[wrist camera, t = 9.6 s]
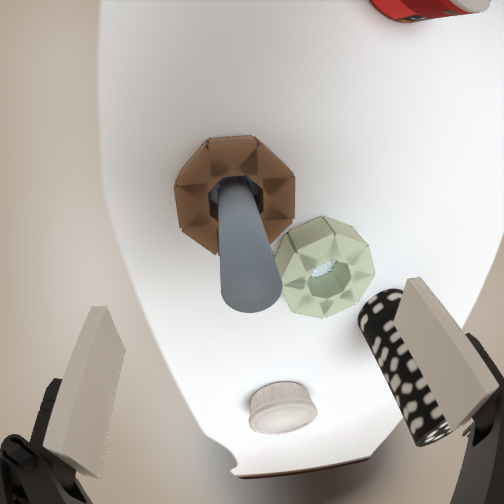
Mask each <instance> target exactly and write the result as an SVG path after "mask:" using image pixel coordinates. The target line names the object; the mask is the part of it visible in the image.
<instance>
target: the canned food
mask: <svg viewBox="0 0 504 504" xmlns="http://www.w3.org/2000/svg"><path fill="white" fill-rule="evenodd" d="M370 1H371V2H372V4H373V5H374V6H375V7H376V8H377V9H378V10H379V11H380V12H382V13H383V14H384V15H386V16H388V17H389V18H391V19H394V20H397V21H401V22H406V23H412V22H417V21H423V20H428V19H434V18H441V17H448V16H456V15H465V14H472V13H479V12H483V11H485V10H487V8H488V7H489V5H490V1H491V0H370Z"/></svg>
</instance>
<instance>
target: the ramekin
mask: <svg viewBox="0 0 504 504" xmlns="http://www.w3.org/2000/svg"><path fill="white" fill-rule="evenodd" d="M316 415H317V409H316V406H315V405H314V404H313V402H312V400H311V398H310V396H309V394H308V392H307V391H306V389H305V388H304V387H303V386H301V385H299V384H297V383H293V382H279V383H274V384H270V385H267V386H265V387H263V388H261V389H260V390H258V391H257V392H256V393H255V395H254V396H253V397H252V399H251V406H250V417H249V425H250V428H251V429H252V430H254V431H255V432H258V433H262V434H283V433H288V432H292V431H296V430H298V429H301V428H303V427H305V426H307V425H308V424H310V423H311V422H312V421H313V420H314V419H315V417H316Z"/></svg>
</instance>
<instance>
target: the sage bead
mask: <svg viewBox="0 0 504 504" xmlns="http://www.w3.org/2000/svg"><path fill="white" fill-rule="evenodd" d="M288 233H289V234H285V236H284V238H283V240H282V242H281V245H280V247H279V249H278V251H277V253H276V256H275V258H274V259H275V262H276V265H277V268H278V271H279V274H280V277H281V280H282V286H283V287H282V292H281V293H282V294H283V296H284V298H285V300H286V302H287V304H288V306H289V308H290V310H291V312H292V311H293V313H296V314H301V315H306V316H311V317H317V318H322V319H323V318H324V316H325V318H327V317H329V316H332V315H334V314H336V313H338V312H340V311H343V310H345V309H347V308H349V307H351V306H353V305H355V302H357V303H358V302H359V300H360V298H361V297H362V295H363V294H364V292H365V291H366V289H367V287H368V286H369V284H370V283H371V281H372V279H373V278H374V276H375V275H374V274H375V269H374V265H373V261H372V257H371V252H370V248H369V245H368V244H367V243H366V242H365V241H364V240H363V238H362V237H361V236H360V235H359V234H358V233H357V232H356V230H355V229H354V228H353V227H352V226H349V225H346V224H344V223H341V222H338V221H335V220H333V219H330V218H327V217H324V216H323V218H321V216H320V217H318V218H316V219H314V220H312V221H309V222H307V223H305V224H303V225H301V226H298V227H296V228H294V229H292V230H289V231H288ZM330 260H336V261H337V262H336V264H335V266H334V268H333V269H332V271H331V272H329V273H327V274H324V275H322V276H320V277H318V278H315V277H311V276H310V275H311V274H312V272H313V270H314V268H315V267H317V266H319V265H321V264H323V263H326V262H328V261H330Z"/></svg>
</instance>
